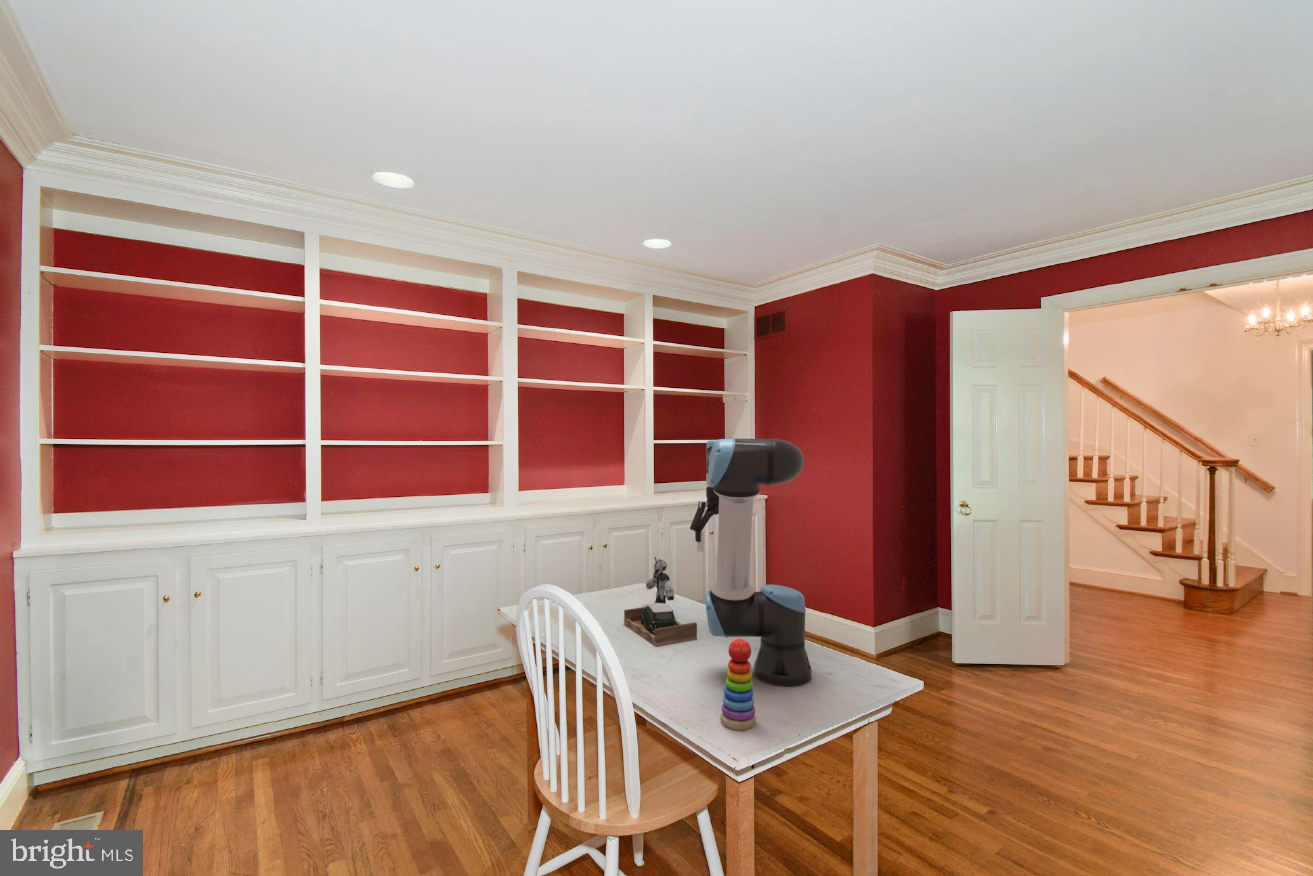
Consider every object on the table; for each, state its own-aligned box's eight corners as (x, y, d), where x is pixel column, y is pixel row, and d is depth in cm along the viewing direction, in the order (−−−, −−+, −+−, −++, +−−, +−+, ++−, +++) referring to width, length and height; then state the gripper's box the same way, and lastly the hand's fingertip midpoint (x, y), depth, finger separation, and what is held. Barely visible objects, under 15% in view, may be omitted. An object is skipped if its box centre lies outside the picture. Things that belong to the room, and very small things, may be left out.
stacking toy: (716, 727, 130) (716, 642, 130) (725, 711, 137) (725, 631, 137) (751, 734, 127) (752, 647, 127) (759, 717, 134) (759, 635, 134)
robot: (678, 619, 206) (679, 562, 206) (666, 621, 204) (666, 563, 204) (654, 604, 223) (654, 552, 223) (642, 606, 221) (642, 553, 221)
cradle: (696, 639, 186) (696, 623, 186) (656, 646, 179) (656, 630, 179) (661, 618, 207) (661, 604, 207) (624, 624, 200) (624, 609, 200)
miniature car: (665, 619, 203) (665, 595, 203) (679, 636, 185) (679, 611, 185) (639, 621, 201) (639, 597, 201) (651, 638, 183) (651, 613, 183)
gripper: (740, 484, 206) (740, 544, 206) (679, 486, 194) (679, 551, 194) (754, 485, 200) (754, 548, 200) (692, 488, 187) (692, 555, 187)
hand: (717, 549), depth 197 cm, fingers open, 13 cm apart
